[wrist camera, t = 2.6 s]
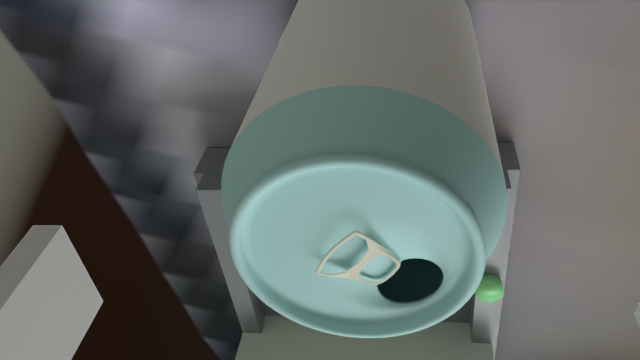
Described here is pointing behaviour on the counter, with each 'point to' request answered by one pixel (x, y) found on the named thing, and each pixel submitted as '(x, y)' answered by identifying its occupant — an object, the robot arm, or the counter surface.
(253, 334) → the grey tray
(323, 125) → the can
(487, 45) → the counter surface
